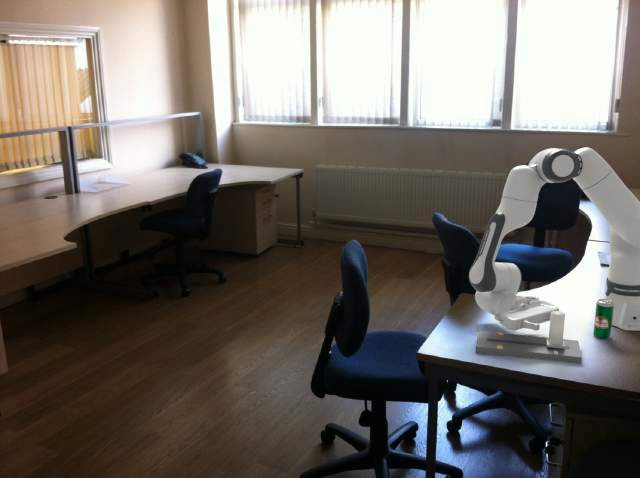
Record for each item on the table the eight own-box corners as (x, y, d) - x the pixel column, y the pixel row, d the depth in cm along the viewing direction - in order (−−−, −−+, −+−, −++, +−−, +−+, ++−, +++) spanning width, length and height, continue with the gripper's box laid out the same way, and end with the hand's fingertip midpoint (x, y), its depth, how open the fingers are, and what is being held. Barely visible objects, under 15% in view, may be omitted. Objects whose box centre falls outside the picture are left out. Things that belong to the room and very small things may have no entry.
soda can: (590, 336, 203) (594, 301, 200) (597, 331, 207) (600, 297, 203) (606, 341, 200) (610, 305, 197) (613, 336, 203) (616, 300, 200)
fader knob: (563, 341, 193) (566, 311, 191) (564, 348, 189) (567, 317, 186) (546, 340, 195) (548, 309, 192) (546, 346, 190) (549, 315, 188)
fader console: (577, 346, 196) (578, 339, 196) (581, 363, 185) (581, 356, 184) (477, 336, 205) (478, 330, 204) (475, 352, 194) (475, 345, 193)
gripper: (491, 307, 199) (524, 321, 187) (539, 295, 209) (573, 308, 197) (490, 325, 201) (523, 341, 189) (537, 313, 210) (571, 327, 198)
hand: (549, 324), depth 193 cm, fingers open, 8 cm apart
